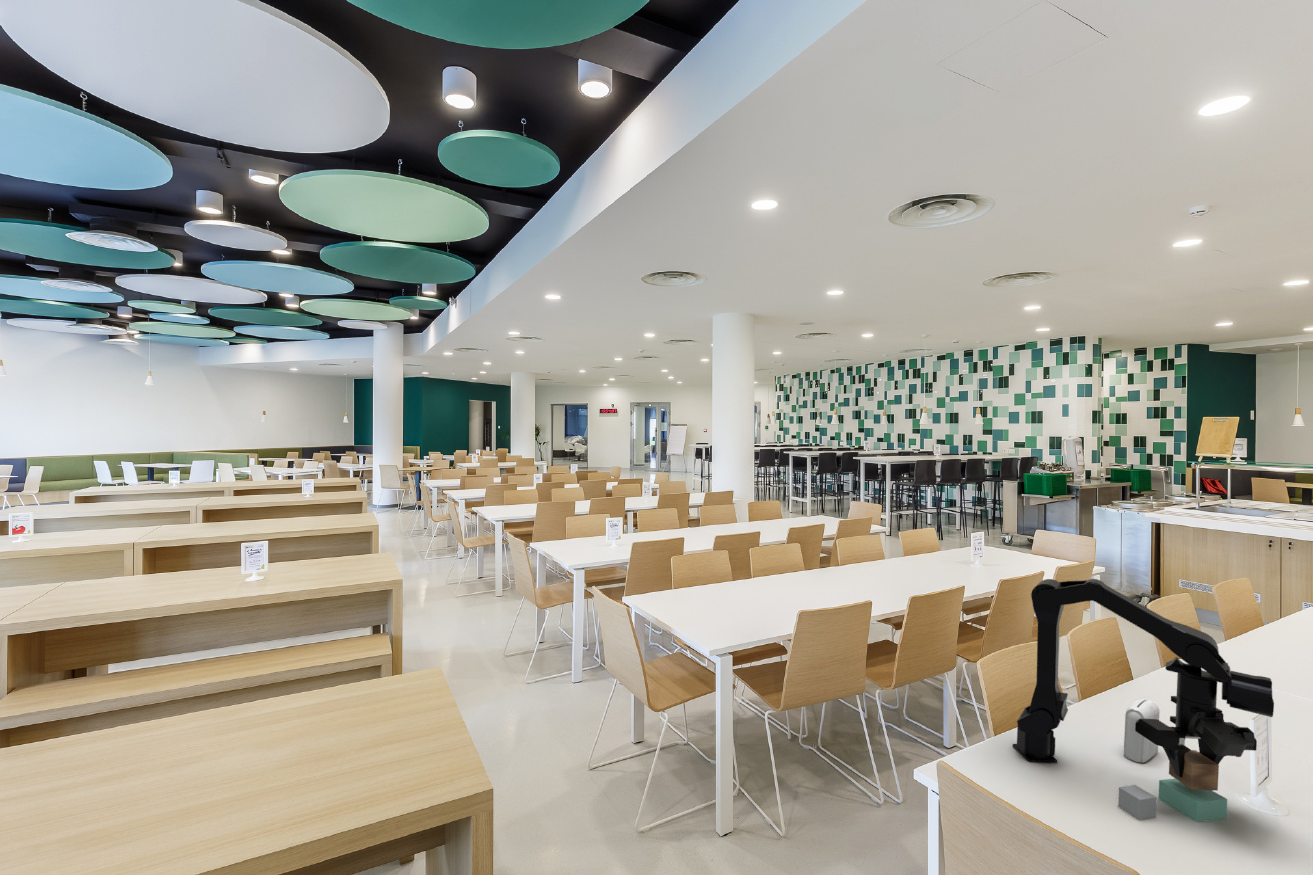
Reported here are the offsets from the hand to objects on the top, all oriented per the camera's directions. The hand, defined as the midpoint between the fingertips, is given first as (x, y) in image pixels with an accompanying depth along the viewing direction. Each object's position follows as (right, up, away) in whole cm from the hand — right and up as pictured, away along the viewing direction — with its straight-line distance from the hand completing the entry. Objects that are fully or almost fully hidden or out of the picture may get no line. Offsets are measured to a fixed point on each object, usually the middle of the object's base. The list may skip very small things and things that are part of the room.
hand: (1192, 776), depth 114 cm
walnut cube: (0, -1, 0) cm, 1 cm away
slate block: (-12, -6, -1) cm, 14 cm away
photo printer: (+6, -6, +19) cm, 21 cm away
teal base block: (0, -7, 0) cm, 7 cm away
